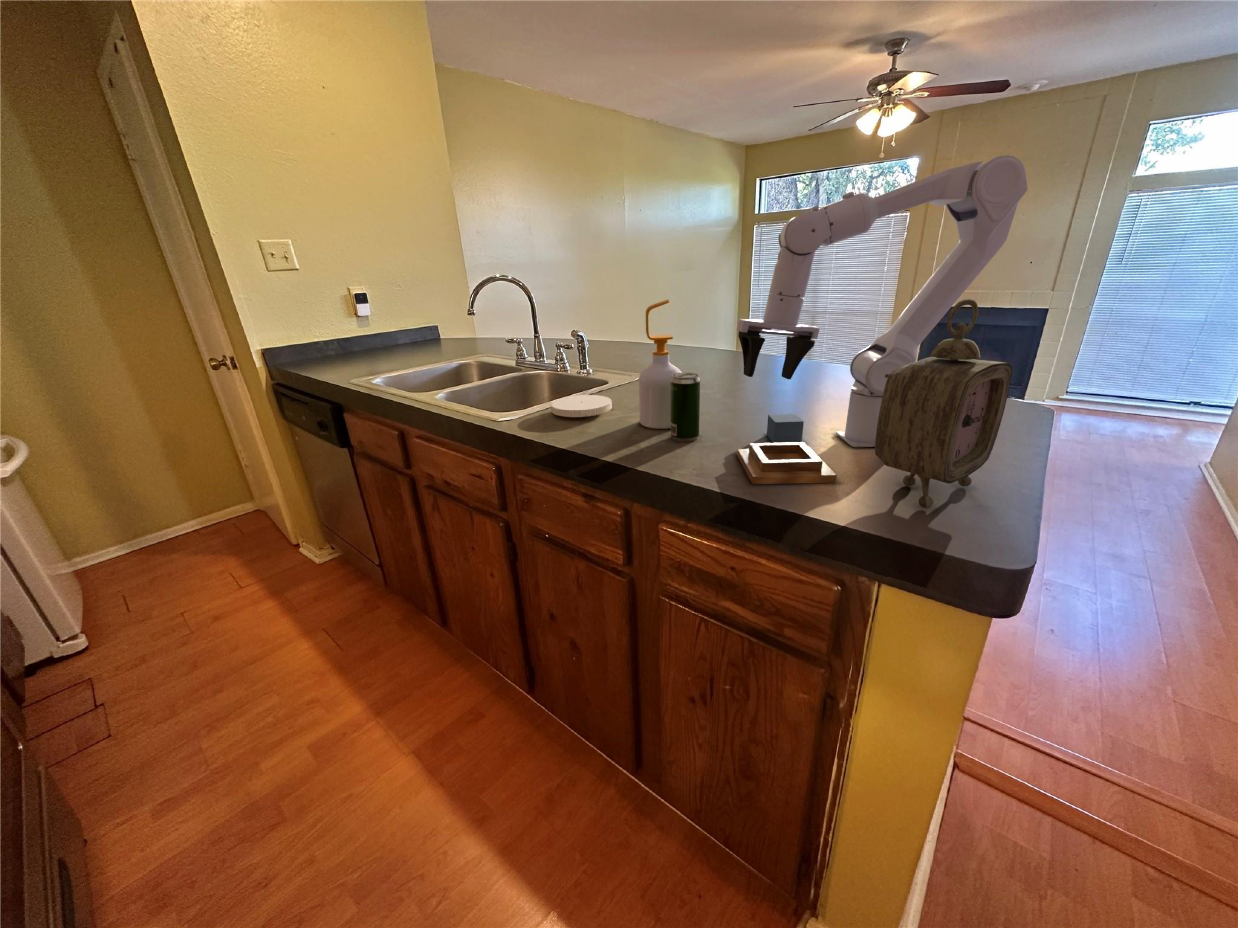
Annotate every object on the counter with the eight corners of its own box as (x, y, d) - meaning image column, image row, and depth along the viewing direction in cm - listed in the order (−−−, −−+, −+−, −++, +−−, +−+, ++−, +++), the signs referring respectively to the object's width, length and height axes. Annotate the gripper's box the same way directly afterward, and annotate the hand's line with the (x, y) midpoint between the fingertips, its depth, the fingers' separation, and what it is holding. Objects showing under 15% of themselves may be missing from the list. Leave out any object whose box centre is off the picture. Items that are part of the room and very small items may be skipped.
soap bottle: (685, 428, 96) (687, 300, 87) (640, 430, 96) (637, 302, 87) (680, 416, 104) (681, 298, 95) (639, 418, 105) (636, 300, 96)
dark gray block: (793, 434, 90) (795, 413, 89) (801, 442, 86) (803, 421, 84) (766, 434, 90) (768, 414, 89) (773, 443, 86) (775, 422, 84)
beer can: (683, 444, 87) (683, 379, 83) (664, 437, 92) (664, 375, 87) (705, 438, 90) (706, 375, 86) (686, 431, 94) (686, 371, 90)
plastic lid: (569, 403, 119) (568, 393, 118) (621, 407, 114) (620, 396, 113) (540, 419, 107) (539, 408, 106) (596, 423, 102) (595, 412, 101)
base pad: (808, 453, 80) (810, 438, 79) (835, 482, 69) (838, 465, 68) (737, 455, 81) (737, 440, 80) (752, 484, 70) (753, 467, 69)
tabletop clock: (931, 517, 59) (979, 304, 49) (861, 493, 66) (892, 302, 56) (984, 487, 66) (1034, 296, 57) (915, 468, 73) (950, 295, 64)
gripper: (809, 297, 84) (790, 373, 89) (736, 289, 80) (720, 369, 86) (835, 302, 78) (812, 383, 83) (756, 293, 74) (738, 378, 79)
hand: (767, 376), depth 84 cm, fingers open, 7 cm apart
